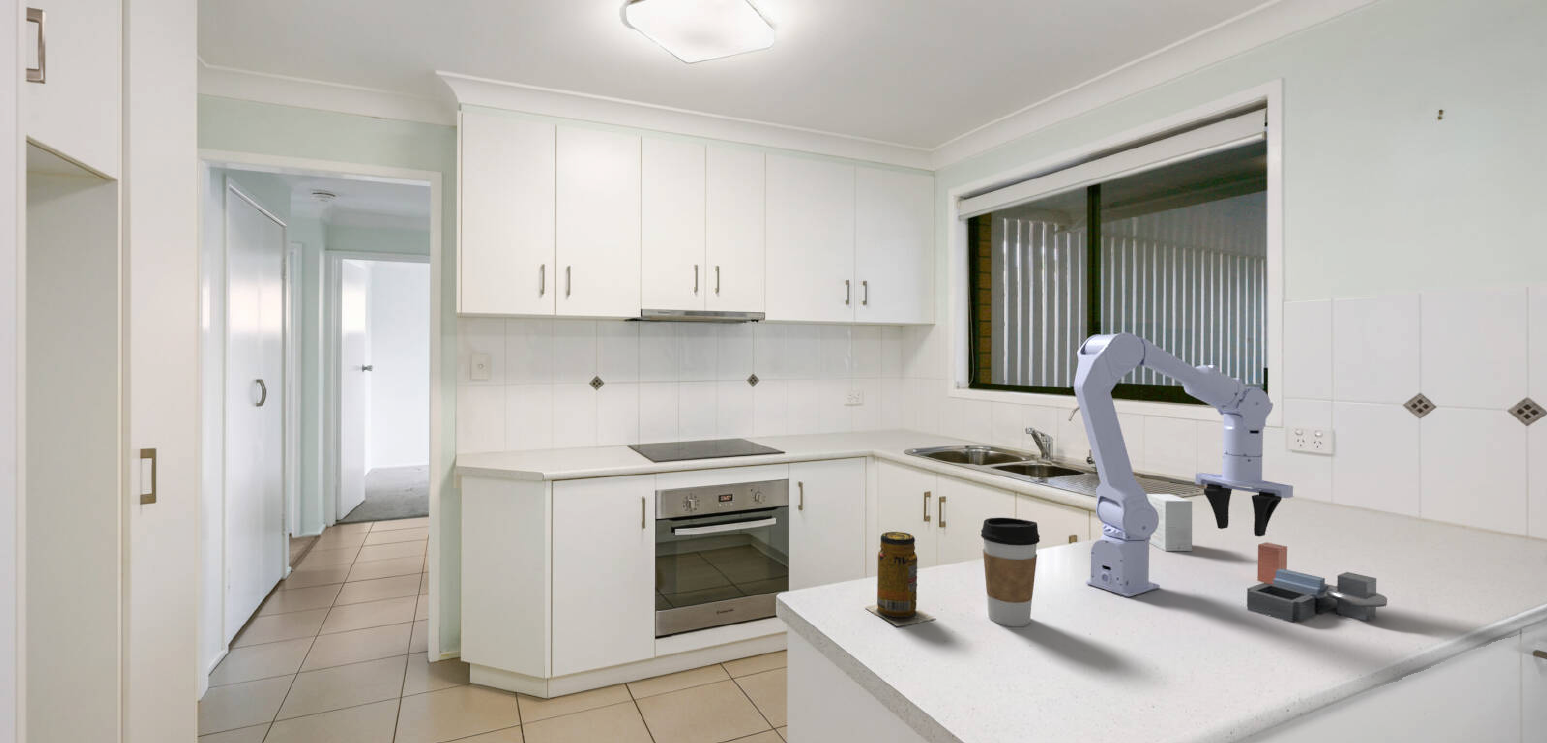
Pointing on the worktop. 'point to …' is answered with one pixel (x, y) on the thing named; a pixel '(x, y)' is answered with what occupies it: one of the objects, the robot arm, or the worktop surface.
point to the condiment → (897, 581)
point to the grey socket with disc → (1318, 599)
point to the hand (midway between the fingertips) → (1240, 531)
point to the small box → (1172, 522)
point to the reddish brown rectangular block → (1270, 561)
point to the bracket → (1299, 581)
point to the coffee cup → (1010, 568)
